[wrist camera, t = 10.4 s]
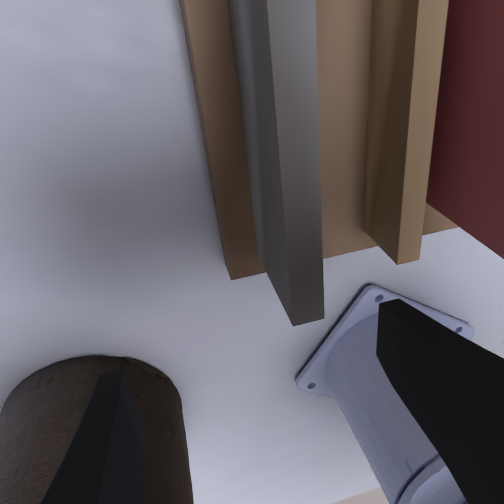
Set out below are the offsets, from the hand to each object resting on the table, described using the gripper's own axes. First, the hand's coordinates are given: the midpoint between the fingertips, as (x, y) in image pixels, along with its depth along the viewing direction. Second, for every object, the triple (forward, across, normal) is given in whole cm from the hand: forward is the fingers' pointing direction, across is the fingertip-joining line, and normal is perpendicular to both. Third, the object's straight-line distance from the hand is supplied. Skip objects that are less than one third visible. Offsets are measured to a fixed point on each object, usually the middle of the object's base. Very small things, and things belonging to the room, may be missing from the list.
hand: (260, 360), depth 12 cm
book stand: (+9, -9, -4) cm, 14 cm away
